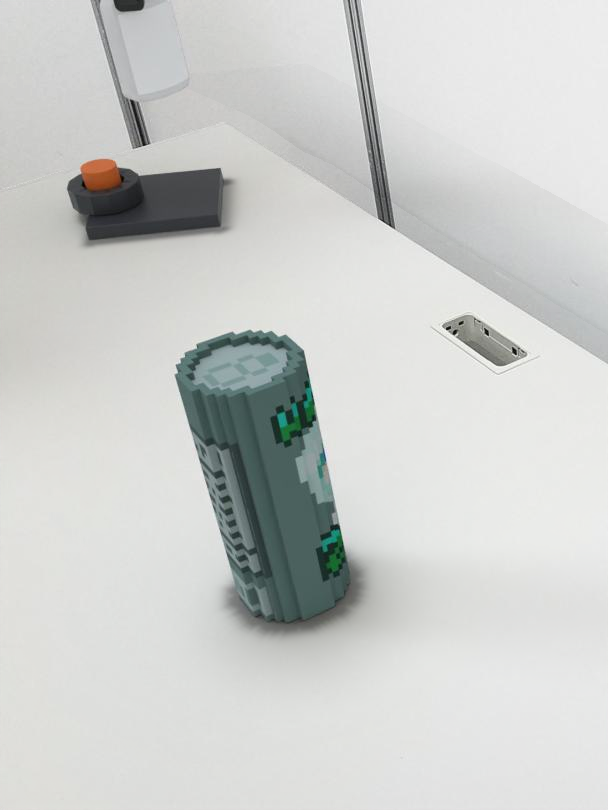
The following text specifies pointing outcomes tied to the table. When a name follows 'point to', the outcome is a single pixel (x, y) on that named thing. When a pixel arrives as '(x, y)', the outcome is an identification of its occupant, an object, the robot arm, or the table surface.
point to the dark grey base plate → (150, 203)
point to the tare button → (100, 174)
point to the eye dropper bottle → (146, 50)
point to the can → (266, 471)
